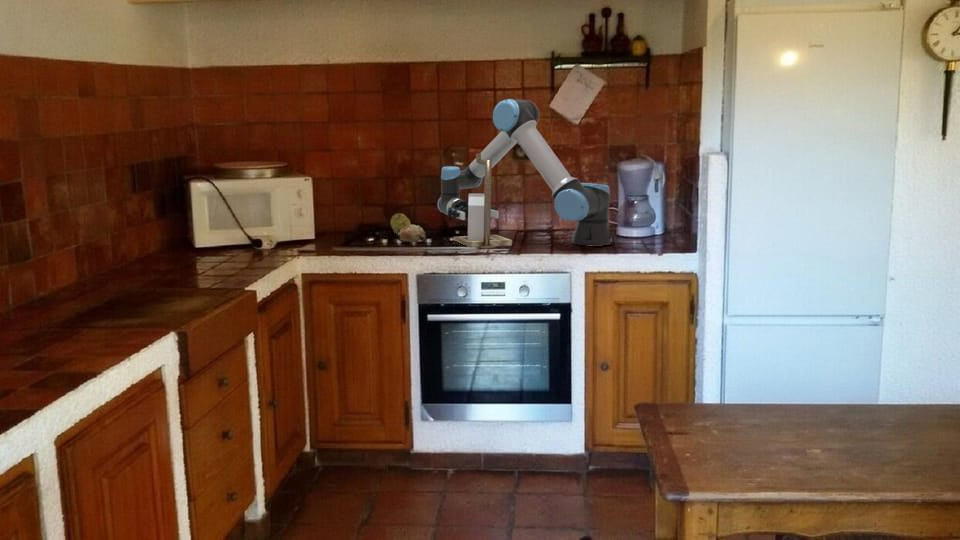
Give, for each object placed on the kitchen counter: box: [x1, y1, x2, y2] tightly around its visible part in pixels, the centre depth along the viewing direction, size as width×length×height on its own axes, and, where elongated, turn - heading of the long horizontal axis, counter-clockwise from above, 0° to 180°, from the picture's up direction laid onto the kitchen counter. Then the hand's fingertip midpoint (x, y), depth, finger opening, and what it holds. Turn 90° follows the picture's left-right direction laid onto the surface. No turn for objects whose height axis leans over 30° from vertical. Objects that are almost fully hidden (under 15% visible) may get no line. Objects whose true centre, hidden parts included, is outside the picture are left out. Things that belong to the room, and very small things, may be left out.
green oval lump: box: [389, 212, 412, 235], centre depth 366 cm, size 8×13×8 cm, turn 7°
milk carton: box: [467, 193, 484, 241], centre depth 345 cm, size 7×7×19 cm
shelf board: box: [452, 234, 513, 248], centre depth 348 cm, size 18×14×2 cm
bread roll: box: [397, 224, 427, 243], centre depth 353 cm, size 10×10×8 cm
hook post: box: [475, 153, 495, 249], centre depth 340 cm, size 5×11×34 cm, turn 24°
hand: (481, 215), depth 342 cm, fingers open, 13 cm apart
